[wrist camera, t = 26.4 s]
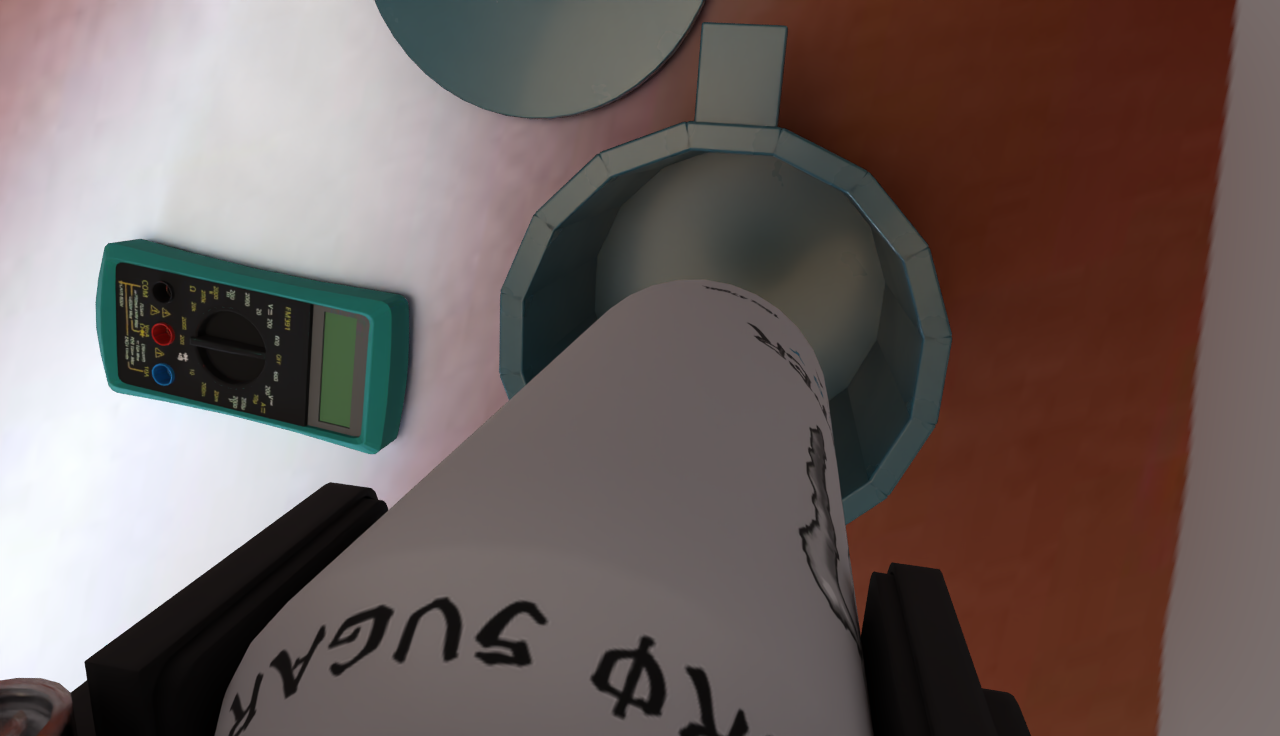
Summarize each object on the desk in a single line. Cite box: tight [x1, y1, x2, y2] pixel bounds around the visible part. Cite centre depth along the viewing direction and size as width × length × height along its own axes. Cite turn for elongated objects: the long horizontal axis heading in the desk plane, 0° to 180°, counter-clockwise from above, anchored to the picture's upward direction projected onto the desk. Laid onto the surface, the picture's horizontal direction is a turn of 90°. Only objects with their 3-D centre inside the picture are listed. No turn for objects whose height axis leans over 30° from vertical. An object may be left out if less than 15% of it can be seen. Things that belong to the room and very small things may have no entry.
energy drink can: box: [215, 280, 874, 736], centre depth 12 cm, size 6×6×15 cm
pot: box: [499, 22, 952, 525], centre depth 30 cm, size 14×19×10 cm
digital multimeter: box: [96, 239, 409, 454], centre depth 38 cm, size 7×15×3 cm, turn 81°
